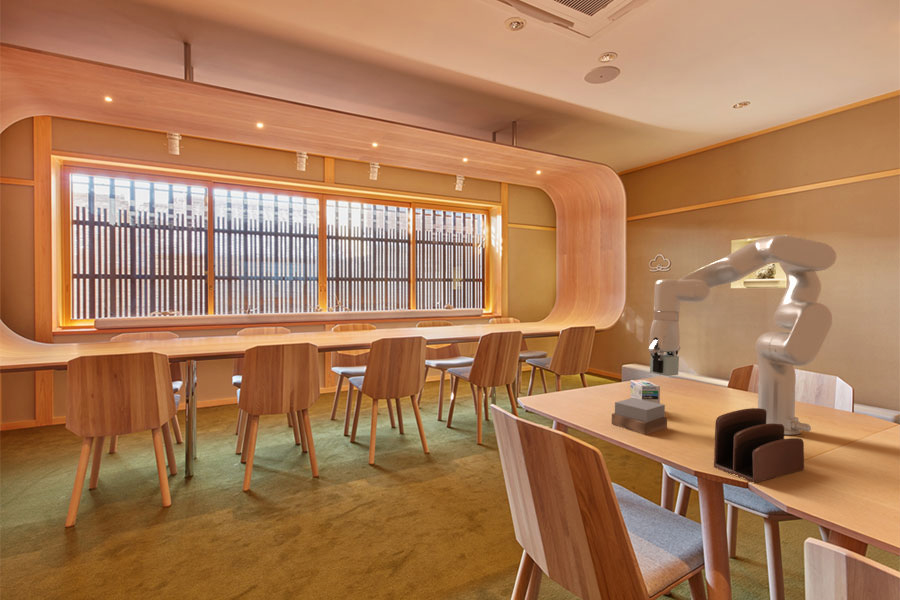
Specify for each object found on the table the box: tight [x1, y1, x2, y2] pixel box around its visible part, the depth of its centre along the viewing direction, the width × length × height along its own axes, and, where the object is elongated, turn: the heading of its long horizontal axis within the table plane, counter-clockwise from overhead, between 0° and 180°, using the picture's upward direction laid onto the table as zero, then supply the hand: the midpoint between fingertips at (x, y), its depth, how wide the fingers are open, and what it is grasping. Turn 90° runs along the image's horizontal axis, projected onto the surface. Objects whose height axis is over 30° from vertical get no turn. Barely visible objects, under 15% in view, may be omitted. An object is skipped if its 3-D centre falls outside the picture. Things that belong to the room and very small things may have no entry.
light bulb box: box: [630, 379, 661, 404], centre depth 156 cm, size 11×7×11 cm, turn 179°
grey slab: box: [614, 397, 666, 423], centre depth 139 cm, size 11×11×4 cm
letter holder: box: [713, 407, 805, 484], centre depth 106 cm, size 10×20×14 cm, turn 113°
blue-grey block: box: [649, 353, 680, 377], centre depth 138 cm, size 6×6×6 cm
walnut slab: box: [611, 412, 668, 436], centre depth 139 cm, size 12×12×4 cm
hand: (663, 371), depth 139 cm, fingers closed on blue-grey block, 6 cm apart
